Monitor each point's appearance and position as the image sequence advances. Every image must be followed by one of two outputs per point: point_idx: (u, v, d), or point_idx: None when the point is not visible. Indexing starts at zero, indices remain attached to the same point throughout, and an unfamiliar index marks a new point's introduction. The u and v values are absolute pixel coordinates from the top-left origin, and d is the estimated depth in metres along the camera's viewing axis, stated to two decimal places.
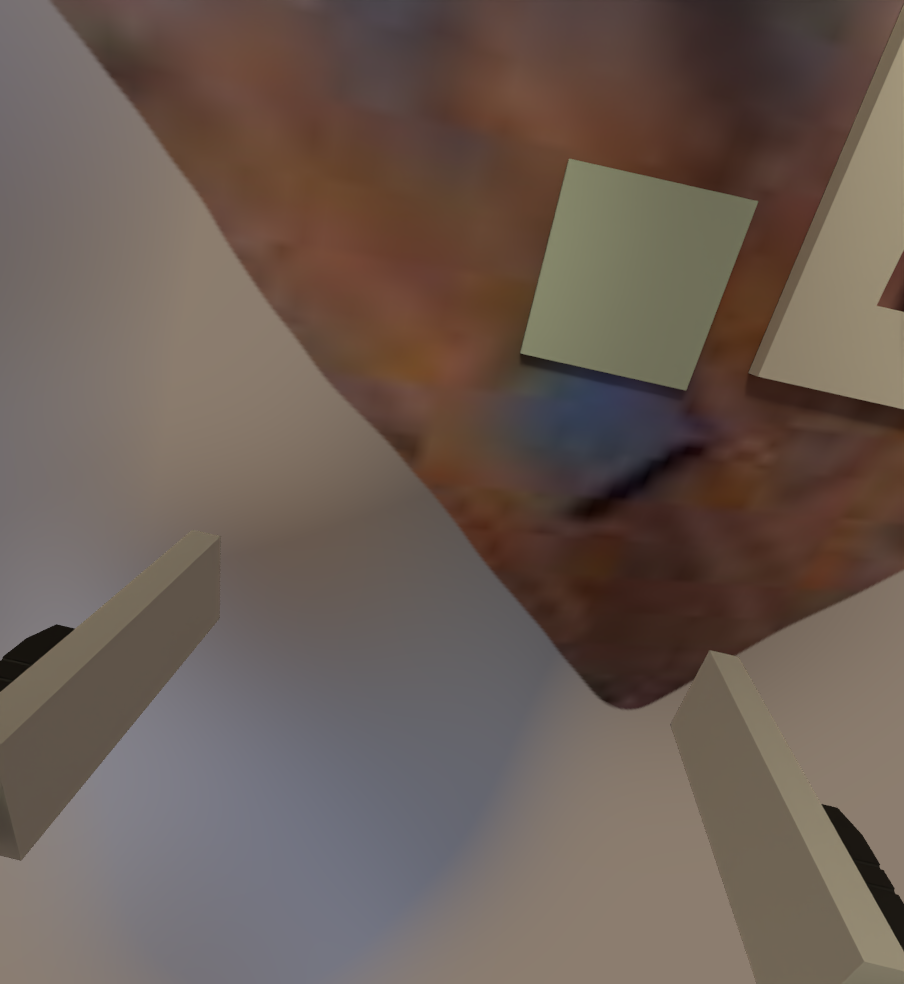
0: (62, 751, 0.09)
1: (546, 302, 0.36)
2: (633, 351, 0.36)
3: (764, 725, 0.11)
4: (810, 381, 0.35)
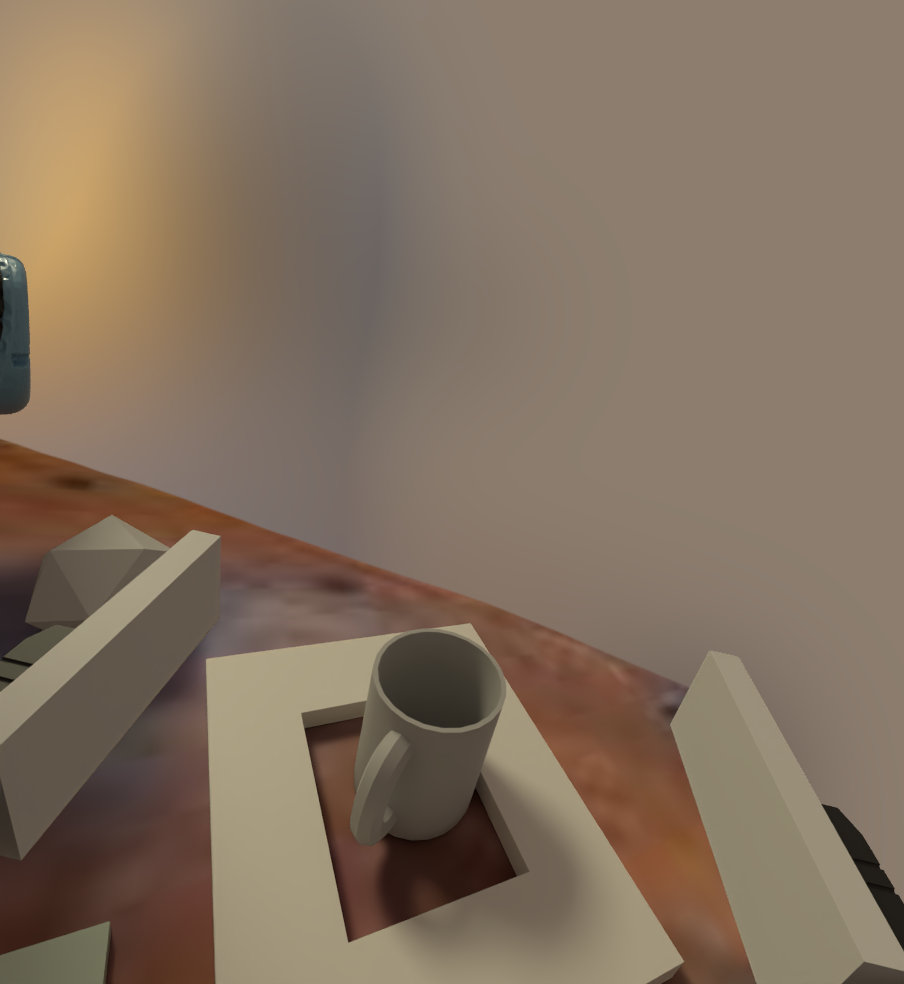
0: (62, 751, 0.09)
1: None
2: None
3: (764, 725, 0.11)
4: None
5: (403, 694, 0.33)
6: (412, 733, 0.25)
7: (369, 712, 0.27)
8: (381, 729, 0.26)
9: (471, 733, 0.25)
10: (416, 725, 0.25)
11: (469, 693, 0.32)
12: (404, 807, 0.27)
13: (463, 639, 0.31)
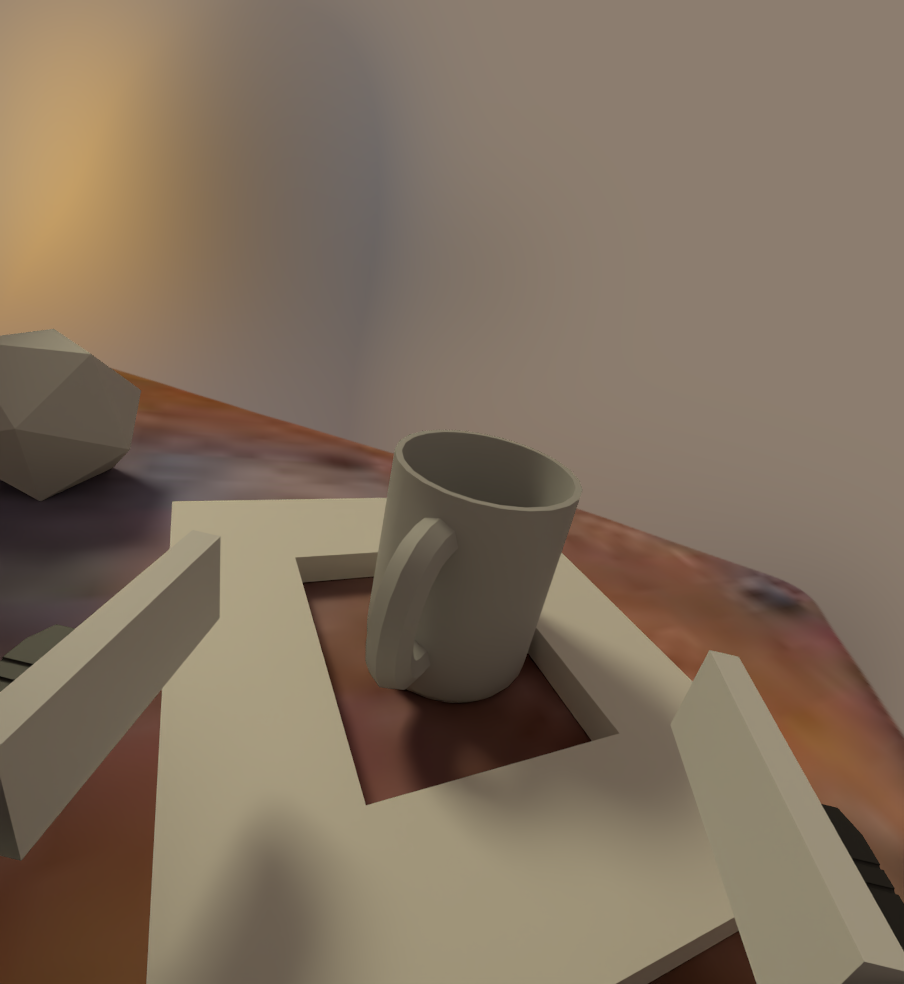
0: (62, 751, 0.09)
1: None
2: None
3: (764, 725, 0.11)
4: None
5: None
6: (457, 514, 0.17)
7: (390, 511, 0.19)
8: (409, 524, 0.18)
9: (542, 518, 0.17)
10: (462, 498, 0.17)
11: None
12: (440, 644, 0.19)
13: (513, 443, 0.23)
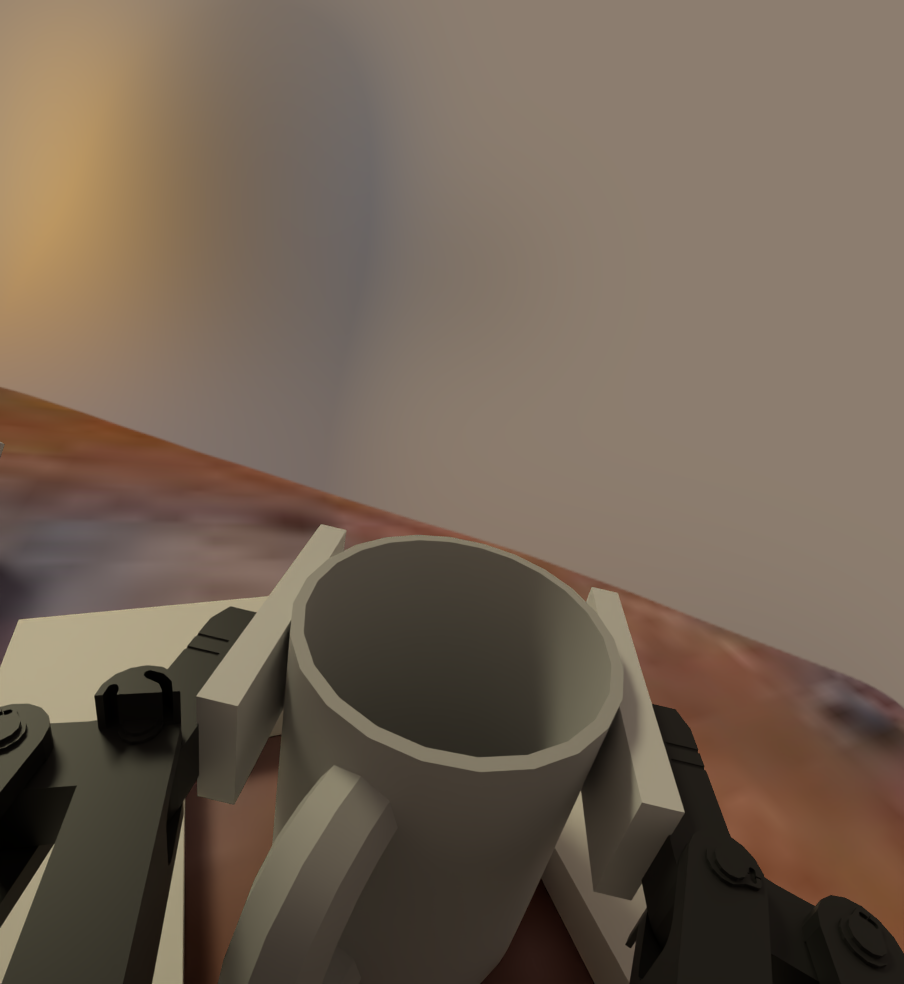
0: (261, 712, 0.11)
1: None
2: None
3: (621, 642, 0.13)
4: None
5: (379, 678, 0.16)
6: (392, 774, 0.09)
7: (285, 716, 0.11)
8: (309, 761, 0.10)
9: (559, 770, 0.09)
10: (402, 751, 0.08)
11: (515, 672, 0.15)
12: (377, 954, 0.11)
13: (503, 555, 0.14)
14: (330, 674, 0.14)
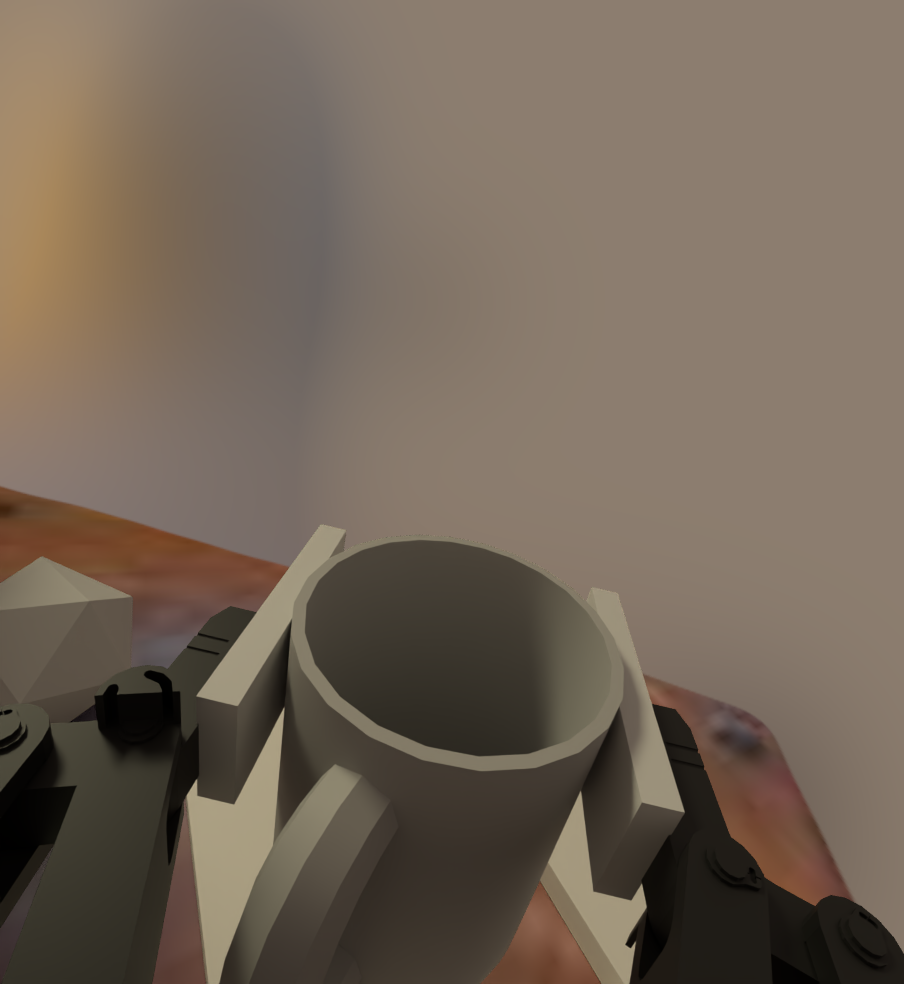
0: (261, 713, 0.11)
1: None
2: None
3: (621, 643, 0.13)
4: None
5: (379, 678, 0.16)
6: (393, 773, 0.09)
7: (286, 716, 0.11)
8: (310, 760, 0.10)
9: (559, 769, 0.09)
10: (402, 750, 0.08)
11: (516, 672, 0.15)
12: (377, 953, 0.11)
13: (504, 555, 0.14)
14: (330, 673, 0.14)
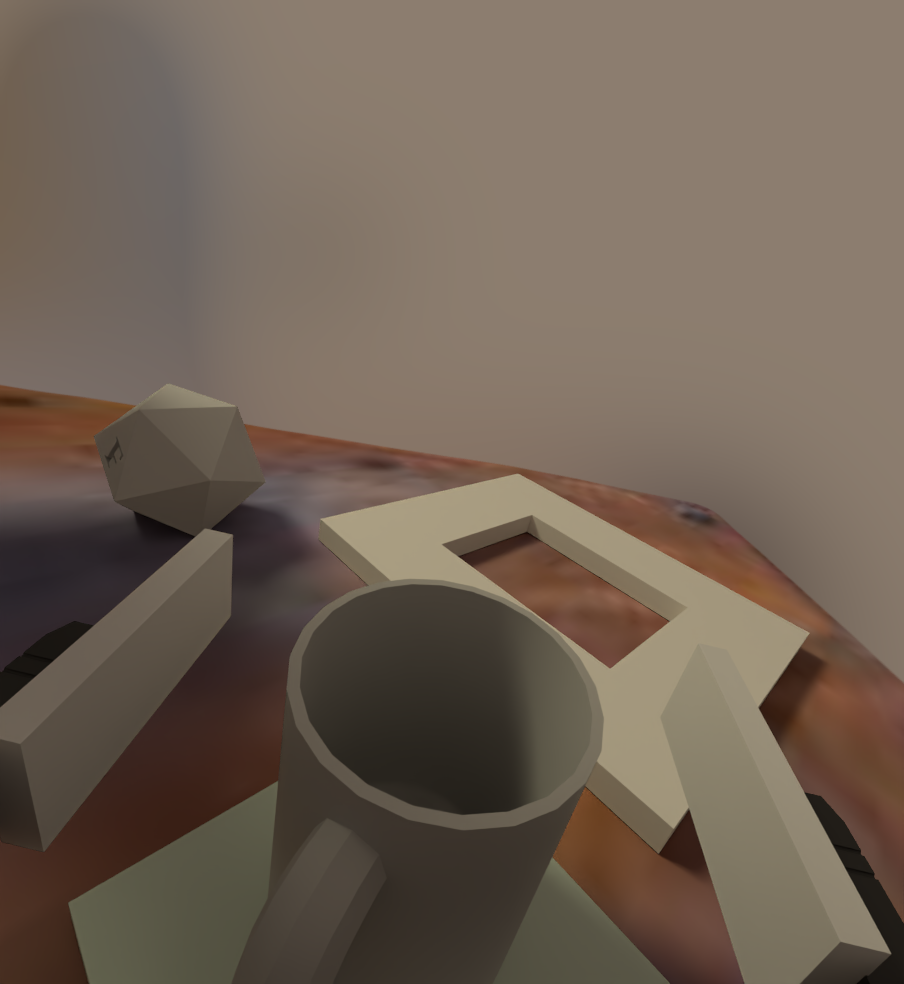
0: (83, 745, 0.09)
1: None
2: None
3: (750, 715, 0.11)
4: None
5: (373, 712, 0.17)
6: (380, 830, 0.09)
7: (282, 764, 0.11)
8: (304, 811, 0.10)
9: (538, 825, 0.10)
10: (390, 810, 0.09)
11: (504, 709, 0.16)
12: None
13: (493, 598, 0.15)
14: (325, 712, 0.15)
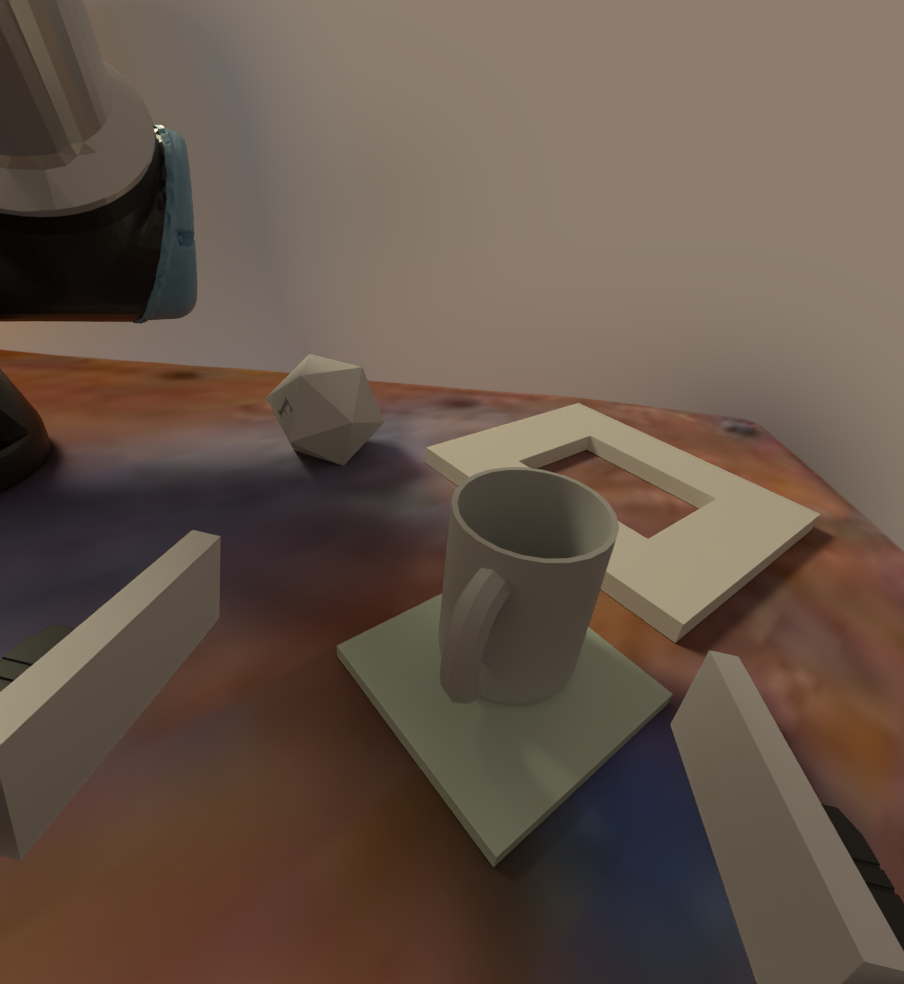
0: (62, 751, 0.09)
1: (452, 765, 0.22)
2: (588, 714, 0.25)
3: (764, 725, 0.11)
4: (707, 595, 0.31)
5: None
6: (507, 567, 0.20)
7: (451, 556, 0.23)
8: (468, 570, 0.22)
9: (581, 566, 0.20)
10: (511, 555, 0.20)
11: (567, 543, 0.26)
12: (501, 663, 0.23)
13: (557, 476, 0.25)
14: None
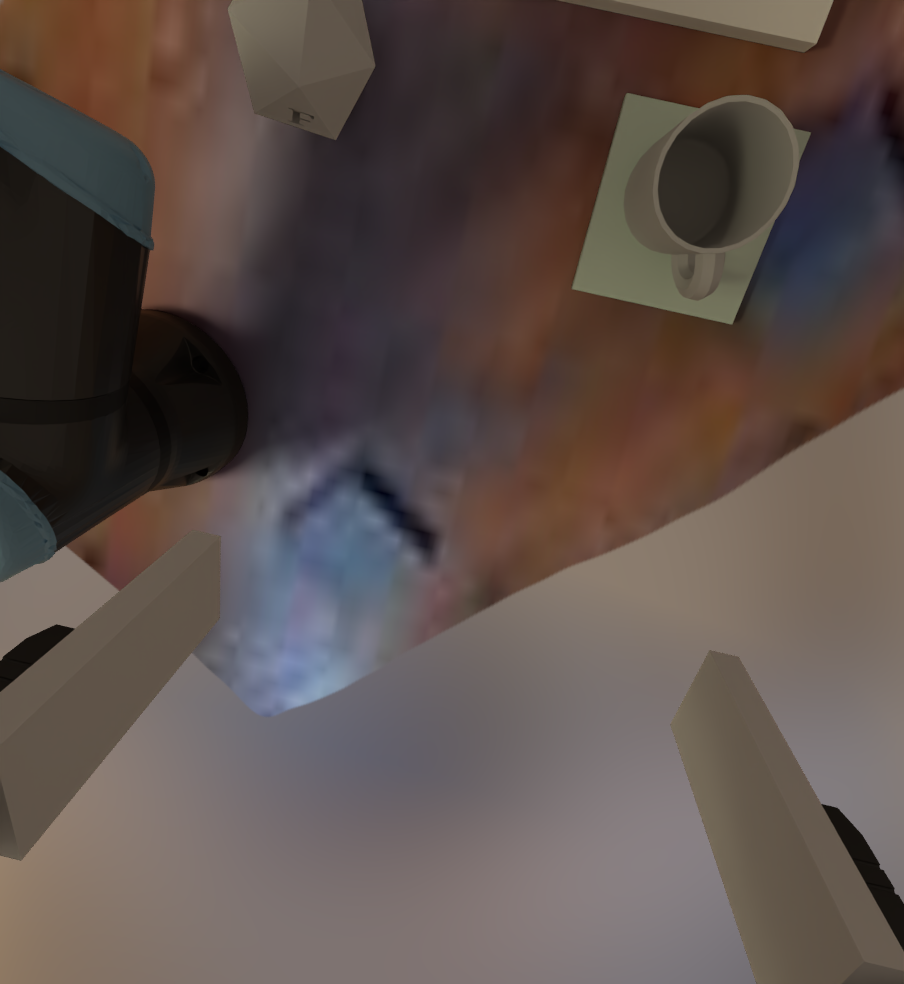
0: (62, 751, 0.09)
1: (688, 301, 0.38)
2: None
3: (764, 725, 0.11)
4: None
5: None
6: None
7: (666, 243, 0.31)
8: (688, 252, 0.31)
9: None
10: (732, 249, 0.29)
11: (725, 118, 0.29)
12: None
13: (722, 103, 0.26)
14: None
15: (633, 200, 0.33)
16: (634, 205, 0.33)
